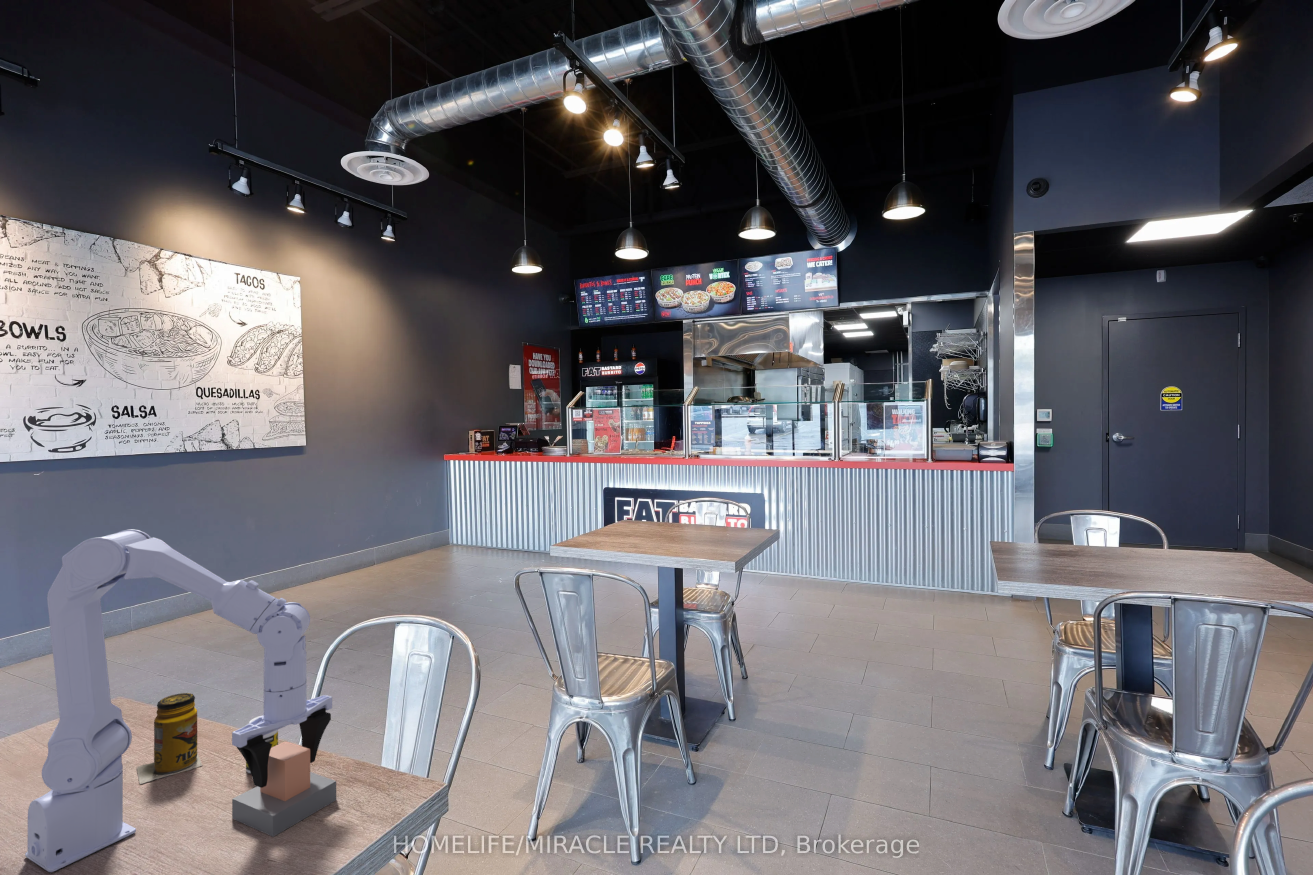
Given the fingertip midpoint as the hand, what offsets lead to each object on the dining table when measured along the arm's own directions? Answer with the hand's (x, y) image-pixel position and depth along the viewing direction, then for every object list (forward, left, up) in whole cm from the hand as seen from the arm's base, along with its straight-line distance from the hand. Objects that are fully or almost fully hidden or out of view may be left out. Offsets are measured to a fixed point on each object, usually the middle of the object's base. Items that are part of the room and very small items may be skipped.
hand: (285, 772), depth 94 cm
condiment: (-1, +31, -6) cm, 32 cm away
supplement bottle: (+6, +16, -6) cm, 18 cm away
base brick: (0, 0, -6) cm, 6 cm away
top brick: (0, 0, -3) cm, 3 cm away
